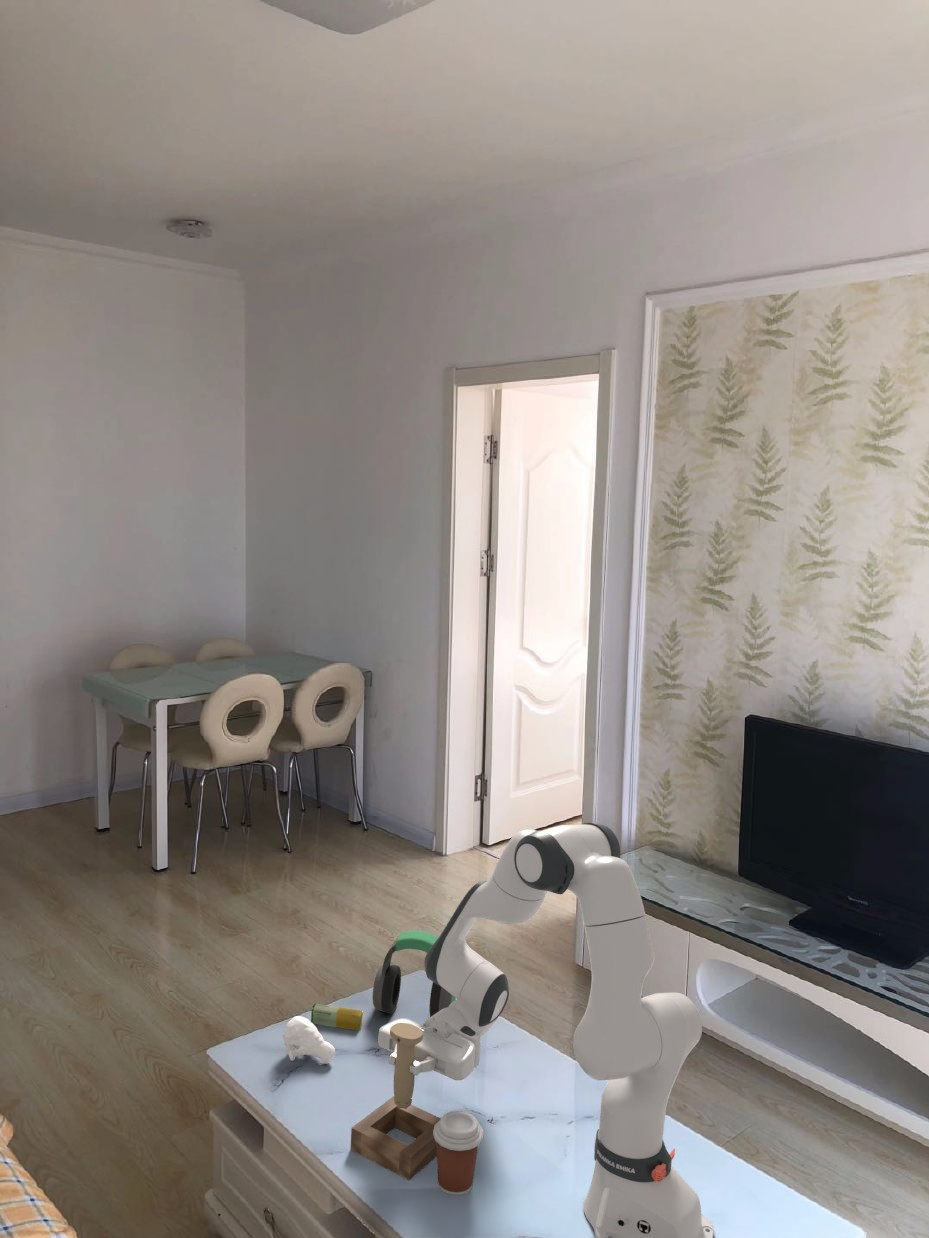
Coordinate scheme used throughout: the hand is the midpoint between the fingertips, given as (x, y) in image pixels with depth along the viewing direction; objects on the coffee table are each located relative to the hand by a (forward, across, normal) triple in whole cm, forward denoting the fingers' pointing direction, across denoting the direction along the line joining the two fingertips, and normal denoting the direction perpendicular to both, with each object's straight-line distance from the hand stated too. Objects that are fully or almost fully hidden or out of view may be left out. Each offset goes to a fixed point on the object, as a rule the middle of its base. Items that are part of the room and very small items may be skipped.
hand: (402, 1065), depth 191 cm
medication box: (-27, -39, +18) cm, 51 cm away
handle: (-1, 0, +8) cm, 9 cm away
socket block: (-1, 0, +17) cm, 17 cm away
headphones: (-43, -28, +18) cm, 54 cm away
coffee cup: (+1, +14, +17) cm, 22 cm away
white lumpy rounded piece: (-13, -34, +17) cm, 40 cm away
